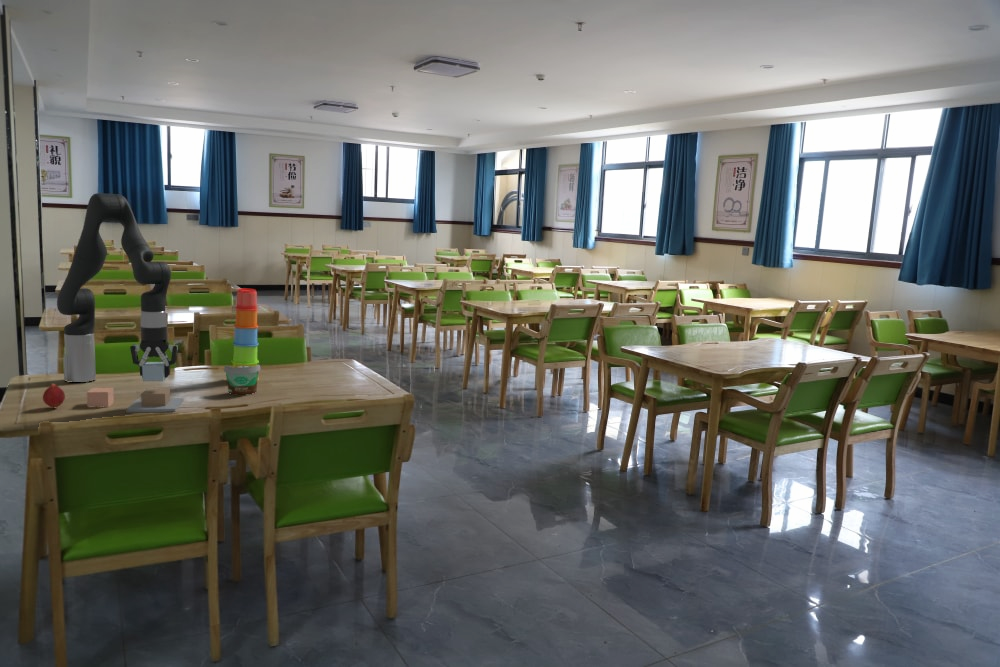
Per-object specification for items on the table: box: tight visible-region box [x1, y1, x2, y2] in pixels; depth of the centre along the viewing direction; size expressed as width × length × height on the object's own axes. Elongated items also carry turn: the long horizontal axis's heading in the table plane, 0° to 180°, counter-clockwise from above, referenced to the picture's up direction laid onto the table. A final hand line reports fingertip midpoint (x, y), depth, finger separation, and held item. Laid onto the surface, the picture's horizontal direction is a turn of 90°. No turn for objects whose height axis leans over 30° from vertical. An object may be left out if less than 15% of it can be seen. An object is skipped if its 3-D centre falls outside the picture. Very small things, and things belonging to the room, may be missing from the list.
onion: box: [42, 383, 66, 408], centre depth 227 cm, size 6×6×8 cm
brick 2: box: [142, 361, 167, 382], centre depth 234 cm, size 6×6×5 cm
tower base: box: [126, 388, 185, 413], centre depth 235 cm, size 14×14×5 cm
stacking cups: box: [230, 287, 260, 381], centre depth 275 cm, size 10×10×35 cm
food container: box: [223, 364, 261, 396], centre depth 256 cm, size 12×6×10 cm, turn 117°
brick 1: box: [86, 387, 115, 408], centre depth 234 cm, size 6×6×5 cm
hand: (155, 376), depth 234 cm, fingers closed on brick 2, 6 cm apart
